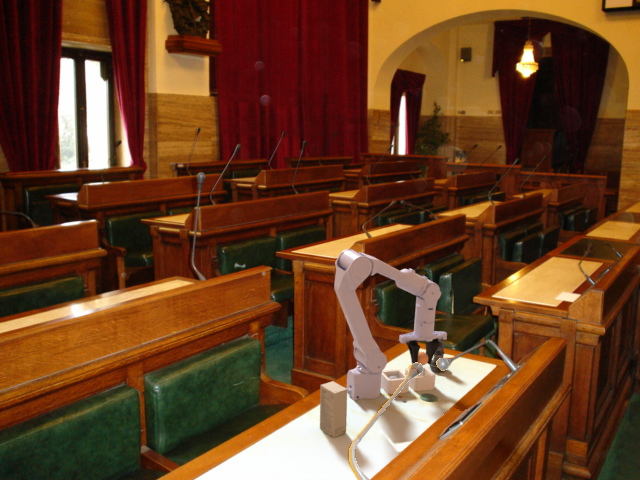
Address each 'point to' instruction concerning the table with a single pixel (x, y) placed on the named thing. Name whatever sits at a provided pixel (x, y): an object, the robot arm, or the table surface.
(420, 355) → the orange ball
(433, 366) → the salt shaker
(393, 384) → the open square box
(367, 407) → the table surface
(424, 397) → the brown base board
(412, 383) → the beige open box
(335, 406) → the skincare box
